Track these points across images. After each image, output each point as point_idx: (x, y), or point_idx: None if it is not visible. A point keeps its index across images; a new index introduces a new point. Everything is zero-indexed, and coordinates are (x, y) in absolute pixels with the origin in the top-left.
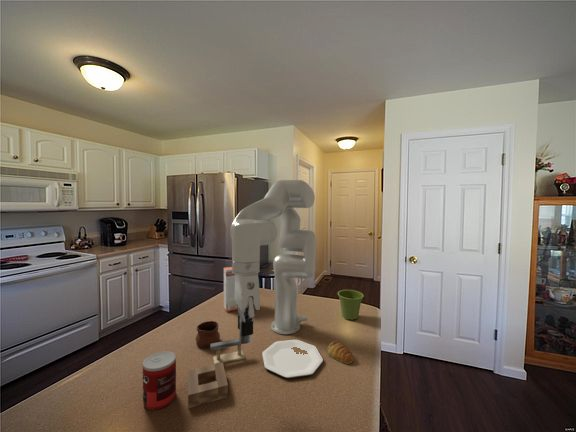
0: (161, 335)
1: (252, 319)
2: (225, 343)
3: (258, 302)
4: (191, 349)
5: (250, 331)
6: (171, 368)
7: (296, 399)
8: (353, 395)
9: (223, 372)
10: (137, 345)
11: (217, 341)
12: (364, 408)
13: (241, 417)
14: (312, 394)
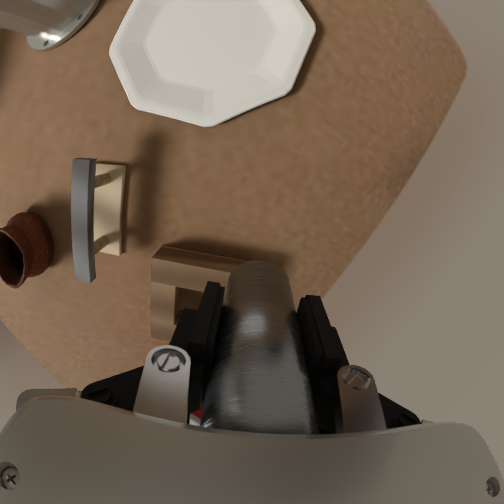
0: (10, 316)
1: (370, 385)
2: (84, 238)
3: (499, 490)
4: (52, 282)
5: (335, 331)
6: (197, 410)
7: (360, 116)
8: (409, 17)
9: (196, 270)
10: (36, 354)
11: (40, 223)
12: (441, 35)
13: (328, 255)
14: (367, 74)
